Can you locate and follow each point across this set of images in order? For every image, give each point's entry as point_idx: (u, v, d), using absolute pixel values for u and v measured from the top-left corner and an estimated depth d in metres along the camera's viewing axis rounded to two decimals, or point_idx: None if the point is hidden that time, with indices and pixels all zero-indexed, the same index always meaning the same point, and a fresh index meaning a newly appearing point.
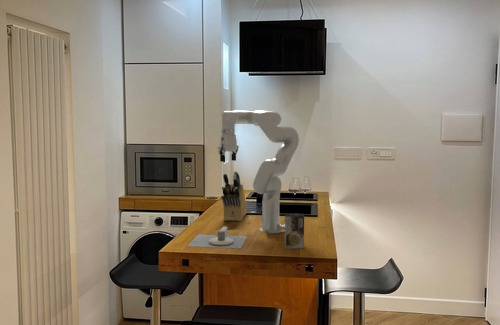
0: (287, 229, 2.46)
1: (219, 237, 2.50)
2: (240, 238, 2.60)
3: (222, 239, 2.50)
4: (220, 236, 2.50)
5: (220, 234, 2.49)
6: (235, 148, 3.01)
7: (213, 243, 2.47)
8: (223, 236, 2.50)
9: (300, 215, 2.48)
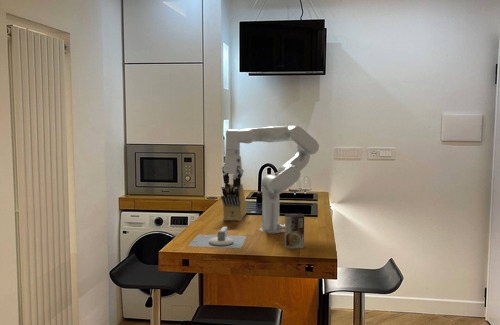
0: (287, 229, 2.46)
1: (219, 237, 2.50)
2: (240, 238, 2.60)
3: (222, 239, 2.50)
4: (220, 236, 2.50)
5: (220, 234, 2.49)
6: None
7: (213, 243, 2.47)
8: (223, 236, 2.50)
9: (300, 215, 2.48)
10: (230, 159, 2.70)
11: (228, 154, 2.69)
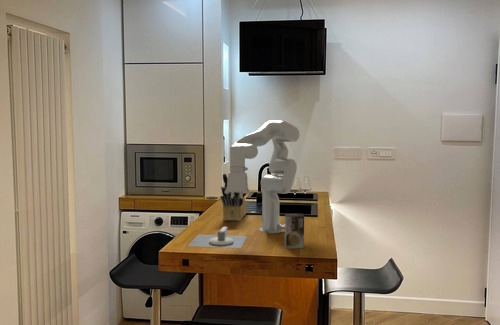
0: (287, 229, 2.46)
1: (219, 237, 2.50)
2: (240, 238, 2.60)
3: (222, 239, 2.50)
4: (220, 236, 2.50)
5: (220, 234, 2.49)
6: None
7: (213, 243, 2.47)
8: (223, 236, 2.50)
9: (300, 215, 2.48)
10: (239, 177, 2.51)
11: (238, 172, 2.50)
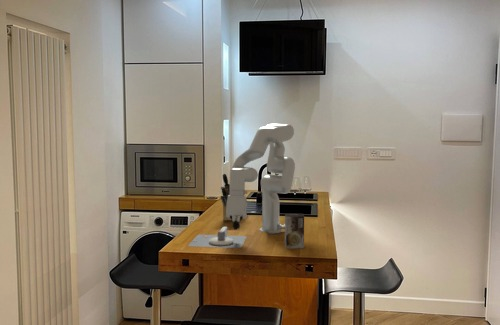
0: (287, 229, 2.46)
1: (219, 237, 2.50)
2: (240, 238, 2.60)
3: (222, 239, 2.50)
4: (220, 236, 2.50)
5: (220, 234, 2.49)
6: None
7: (213, 243, 2.47)
8: (223, 236, 2.50)
9: (300, 215, 2.48)
10: (238, 200, 2.52)
11: (237, 195, 2.51)
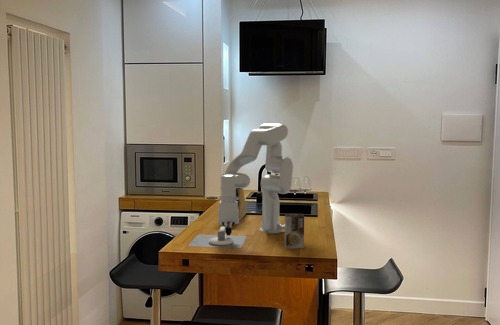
0: (287, 229, 2.46)
1: (219, 237, 2.50)
2: (240, 238, 2.60)
3: (222, 239, 2.50)
4: (220, 236, 2.49)
5: (220, 234, 2.49)
6: None
7: (214, 243, 2.46)
8: (223, 236, 2.50)
9: (300, 215, 2.48)
10: (230, 207, 2.53)
11: (229, 202, 2.52)
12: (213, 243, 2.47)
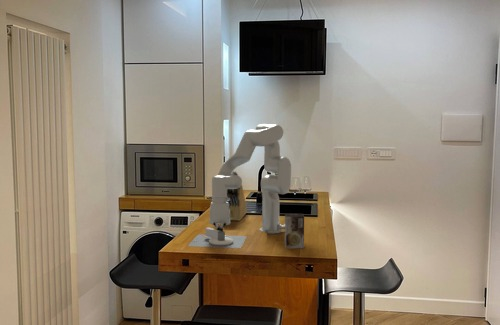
0: (287, 229, 2.46)
1: (222, 237, 2.50)
2: (240, 238, 2.60)
3: (224, 239, 2.51)
4: (223, 236, 2.50)
5: (223, 234, 2.50)
6: None
7: (222, 244, 2.46)
8: (224, 235, 2.51)
9: (300, 215, 2.48)
10: (221, 207, 2.54)
11: (220, 203, 2.52)
12: (221, 244, 2.46)
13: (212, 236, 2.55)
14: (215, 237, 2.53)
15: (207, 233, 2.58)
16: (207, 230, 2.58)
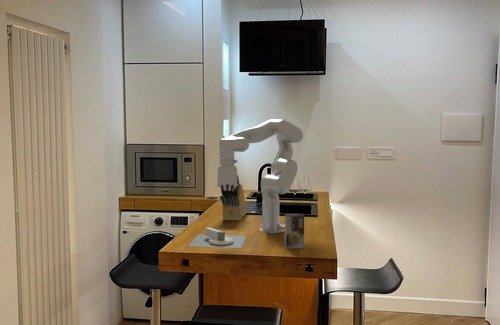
0: (287, 229, 2.46)
1: (222, 237, 2.50)
2: (240, 238, 2.60)
3: (224, 239, 2.51)
4: (223, 236, 2.50)
5: (223, 234, 2.50)
6: None
7: (222, 244, 2.46)
8: (224, 235, 2.51)
9: (300, 215, 2.48)
10: (228, 169, 2.57)
11: (227, 165, 2.55)
12: (221, 244, 2.46)
13: (212, 236, 2.55)
14: (215, 237, 2.53)
15: (207, 233, 2.58)
16: (207, 230, 2.58)
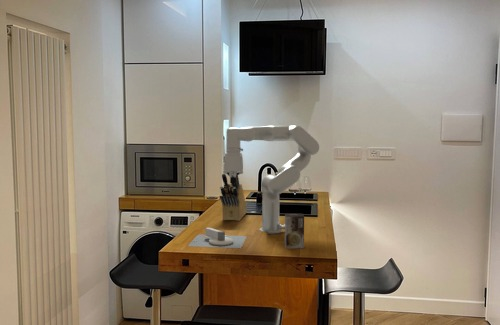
0: (287, 229, 2.46)
1: (222, 237, 2.50)
2: (240, 238, 2.60)
3: (224, 239, 2.51)
4: (223, 236, 2.50)
5: (223, 234, 2.50)
6: None
7: (222, 244, 2.46)
8: (224, 235, 2.51)
9: (300, 215, 2.48)
10: (235, 157, 2.71)
11: (234, 152, 2.69)
12: (221, 244, 2.46)
13: (212, 236, 2.55)
14: (215, 237, 2.53)
15: (207, 233, 2.58)
16: (207, 230, 2.58)
